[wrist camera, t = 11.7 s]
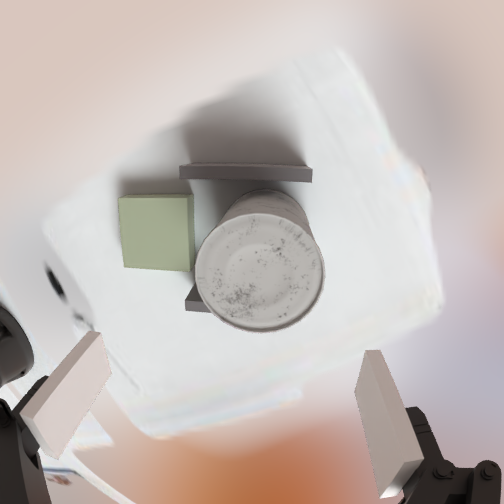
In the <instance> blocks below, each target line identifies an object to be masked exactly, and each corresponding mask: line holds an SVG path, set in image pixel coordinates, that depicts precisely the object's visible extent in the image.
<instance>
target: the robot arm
mask: <svg viewBox="0 0 504 504" xmlns="http://www.w3.org/2000/svg"><path fill="white" fill-rule="evenodd" d="M33 364H34V357H33V352H32V349H31V346H30V343H29V341H28V339H27V337H26V335H25V333H24V332H23V330H22V329H21V327H20V326H19V324H18V323H17V322H16V320H15V319H14V318H13V317H12V316H11V315H10V314H9V313H8V312H7V311H6V310H4V309H3V308H2V307H0V388H1V387H2V386H3V385H5V384H7V383H9V382H11V381H14V380H16V379H18V378H20V377H23V376H24V375H26V374H27V373H28V372H29V371H30V370H31V368H32V367H33ZM111 374H112V372H111V368H110V365H109V361H108V357H107V354H106V350H105V346H104V342H103V338H102V334H101V333H100V332H94V331H88V333H87V334H86V335H85V336H84V337H83V338H82V339H81V340H80V342H79V343H78V344H77V345H76V346H75V347H74V348H73V349H72V351H71V352H70V353H69V354H68V355H67V356H66V358H65V359H64V360H63V361H62V362H61V364H59V366H58V367H57V368H56V369H55V370H54V372H53V373H52V374H51V375H50V376H46V375H45V376H44V377H42V378H41V379H39V380H37V381H36V383H35V384H34V385H33V386H32V387H31V389H30V390H29V391H28V392H27V394H25V396H24V397H23V398H22V399H21V400H20V402H19V403H18V404H17V405H16V407H15V408H14V409H13V410H12V411H11V409H10V407H9V405H8V404H7V402H6V401H5V400H4V399H1V398H0V504H52V503H51V500H50V496H49V493H48V489H47V485H46V481H45V477H44V473H43V469H42V465H41V460H40V456H39V453H38V452H37V451H38V449H39V448H40V447H41V449H42V450H43V452H44V453H45V454H46V455H48V456H50V457H52V458H55V459H57V460H59V458H60V456H61V455H62V453H63V451H64V449H65V448H66V446H67V444H68V443H69V441H70V439H71V438H72V436H73V434H74V433H75V431H76V430H77V428H78V426H79V425H80V423H81V421H82V420H83V418H84V417H85V415H86V413H87V412H88V410H89V409H90V407H91V405H92V404H93V402H94V400H95V399H96V397H97V396H98V394H99V393H100V391H101V390H102V388H103V386H104V385H105V383H106V382H107V380H108V379H109V377H110V376H111ZM355 396H356V400H357V404H358V408H359V411H360V415H361V419H362V423H363V427H364V432H365V436H366V440H367V444H368V448H369V452H370V457H371V461H372V466H373V470H374V475H375V479H376V484H377V488H378V494H379V498H385V497H391V496H396V495H398V494H399V493H400V491H401V490H402V489H403V492H404V497H403V499H402V500H401V501H400V502H399V503H398V504H500V497H501V469H500V468H499V466H498V464H496V463H495V462H493V461H489V460H485V461H482V462H480V463H479V464H478V465H477V466H476V467H475V468H458V467H455V466H454V465H453V463H451V462H450V461H448V460H444V458H443V456H442V454H441V451H440V449H439V447H438V444H437V442H436V439H435V437H434V435H433V432H431V431H432V430H431V428H430V425H428V421H427V419H426V416H425V414H424V413H423V412H422V411H421V410H420V409H419V408H418V407H409V408H405V407H404V404H403V402H402V399H401V397H400V395H399V392H398V390H397V387H396V385H395V383H394V380H393V378H392V376H391V374H390V371H389V369H388V367H387V364H386V362H385V360H384V357H383V355H382V353H381V351H380V350H365V354H364V358H363V362H362V366H361V370H360V374H359V377H358V381H357V385H356V388H355Z"/></svg>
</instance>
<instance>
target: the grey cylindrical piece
mask: <svg viewBox="0 0 504 504" xmlns="http://www.w3.org/2000/svg"><path fill="white" fill-rule="evenodd" d="M195 281H196V285H197V289H198V292H199V294H200V296H201V298H202V300H203V302H204V304H205V305H206V306H207V307H208V309H209V310H210V311H211V312H212V313H213V314H214V315H215V316H216V317H217V318H219V319H220V320H221V321H222V322H224V323H226V324H228V325H230V326H232V327H234V328H236V329H239V330H242V331H246V332H252V333H270V332H277V331H280V330H283V329H286V328H289V327H291V326H293V325H294V324H296V323H298V322H300V321H301V320H302V319H303V318H305V317H306V316H307V315H308V314H309V313H310V312H311V311H312V309H313V308H314V307H315V305H316V304H317V302H318V301H319V298H320V296H321V293H322V291H323V288H324V281H325V266H324V260H323V257H322V254H321V252H320V249H319V247H318V245H317V244H316V242H315V239H314V237H313V234H312V232H311V229H310V226H309V222H308V219H307V217H306V214H305V212H304V211H303V209H302V208H301V206H300V205H299V204H298V203H297V202H296V201H295V200H294V199H293V198H291V197H290V196H288V195H286V194H285V193H282V192H279V191H276V190H268V189H261V190H255V191H252V192H249V193H247V194H244V195H243V196H241V197H240V198H238V199H237V200H236V201H235V202H234V203H233V204H232V205H231V206H230V207H229V209H228V211H227V213H226V214H225V215H224V217H223V218H222V219H221V220H220V222H219V223H218V224H217V226H216V227H215V228H214V229H213V230H212V231H211V232H210V234H209V235H208V236H207V237H206V238H205V239H204V241H203V243H202V245H201V247H200V249H199V251H198V254H197V258H196V262H195Z"/></svg>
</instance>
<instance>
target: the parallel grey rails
mask: <svg viewBox="0 0 504 504" xmlns="http://www.w3.org/2000/svg"><path fill="white" fill-rule="evenodd" d="M180 179H241V180H271V181H293V182H311V183H312V169H311V168H310V167H308V166H297V165H276V164H245V163H192V164H187V165H182V166H180ZM185 309H186V311H196V312H208V313H212V312H211V311H210V310H209V309H208V307H207V306H206V305H205V304H204V302H203V300H202V298H201V296H200V294H199V292H198V289H197V285H196V282H195V284H194V286H193V287H192V289H191V291H190V293H189V294H188V296H187V298H186V299H185Z"/></svg>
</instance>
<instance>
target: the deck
mask: <svg viewBox="0 0 504 504" xmlns="http://www.w3.org/2000/svg"><path fill="white" fill-rule="evenodd" d="M118 207H119V221H120V233H121V243H122V253H123V262H124V267H126V268H140V269H154V270H169V271H184V272H190V271H191V269H192V268H193V266H194V265H195V240H194V194H133V195H125V196H123V197H120V198H118Z"/></svg>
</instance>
